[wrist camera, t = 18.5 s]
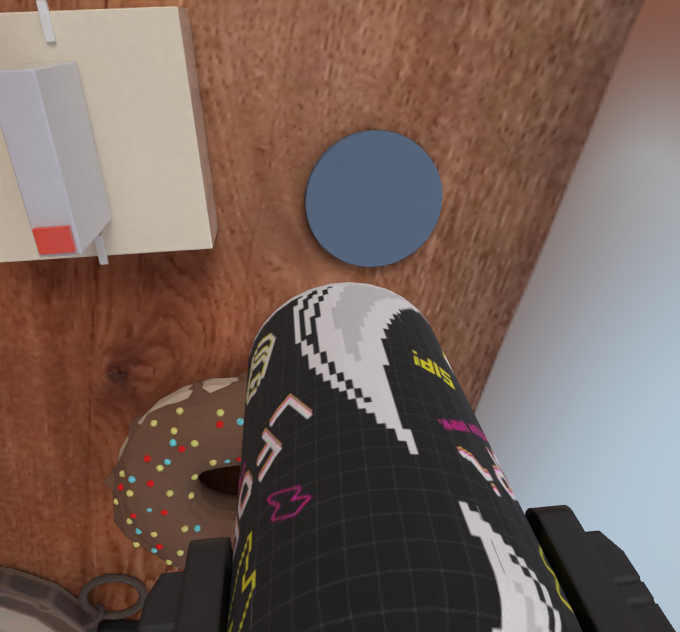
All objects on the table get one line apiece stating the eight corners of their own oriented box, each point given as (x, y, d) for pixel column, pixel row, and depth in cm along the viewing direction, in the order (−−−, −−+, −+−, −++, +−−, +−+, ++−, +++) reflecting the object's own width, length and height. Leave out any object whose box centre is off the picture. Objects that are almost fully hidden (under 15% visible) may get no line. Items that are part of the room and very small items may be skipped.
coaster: (300, 133, 28) (300, 135, 27) (442, 125, 28) (446, 128, 28) (309, 267, 31) (309, 272, 30) (436, 258, 31) (439, 262, 31)
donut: (166, 327, 32) (148, 376, 27) (381, 405, 36) (396, 460, 31) (92, 505, 37) (66, 571, 33) (286, 557, 41) (287, 622, 36)
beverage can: (293, 241, 16) (326, 676, 5) (465, 311, 18) (751, 753, 7) (222, 399, 18) (147, 928, 8) (381, 448, 20) (502, 944, 9)
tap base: (-55, 7, 24) (-99, 5, 21) (187, -2, 25) (175, -5, 22) (19, 247, 29) (-9, 272, 26) (219, 235, 30) (213, 257, 27)
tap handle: (34, 62, 23) (-21, 71, 18) (76, 60, 23) (30, 69, 19) (76, 221, 26) (36, 260, 21) (112, 218, 26) (80, 257, 22)
